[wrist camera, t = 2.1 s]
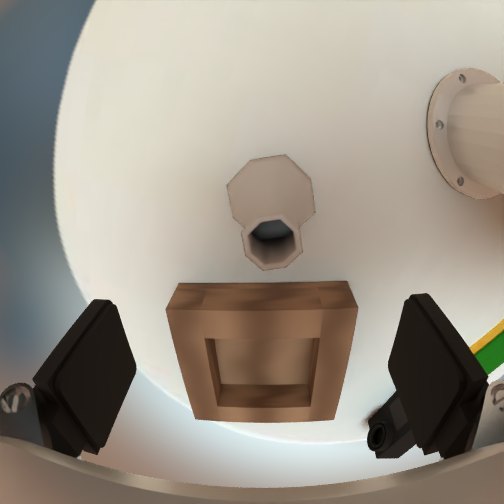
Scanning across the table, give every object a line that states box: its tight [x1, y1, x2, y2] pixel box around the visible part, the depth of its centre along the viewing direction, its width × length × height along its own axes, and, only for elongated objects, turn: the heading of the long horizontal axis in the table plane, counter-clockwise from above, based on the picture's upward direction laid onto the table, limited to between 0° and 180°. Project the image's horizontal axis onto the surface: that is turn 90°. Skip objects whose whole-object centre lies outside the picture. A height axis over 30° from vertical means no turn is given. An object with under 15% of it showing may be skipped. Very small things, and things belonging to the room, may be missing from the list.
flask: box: [227, 154, 315, 270], centre depth 21 cm, size 7×7×10 cm
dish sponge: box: [469, 319, 504, 375], centre depth 31 cm, size 7×14×2 cm, turn 130°
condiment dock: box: [166, 281, 358, 423], centre depth 29 cm, size 16×16×4 cm
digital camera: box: [367, 391, 416, 459], centre depth 32 cm, size 10×5×7 cm, turn 161°
